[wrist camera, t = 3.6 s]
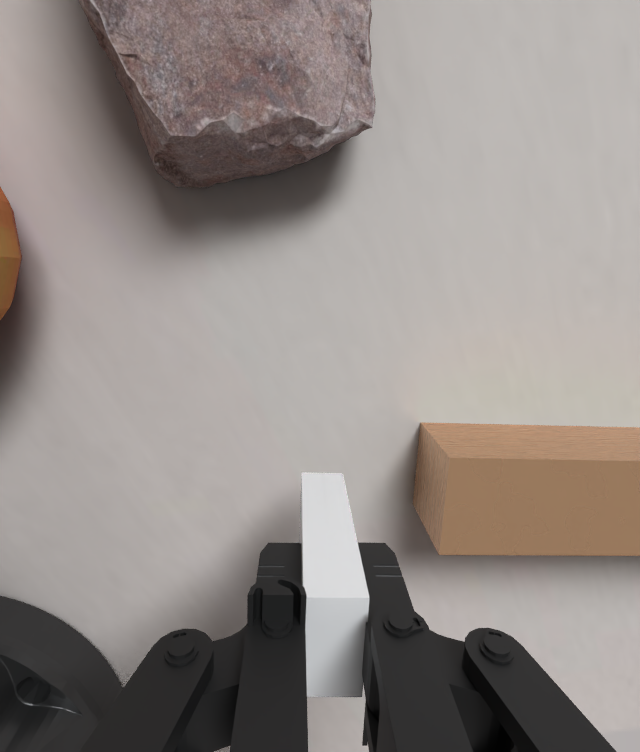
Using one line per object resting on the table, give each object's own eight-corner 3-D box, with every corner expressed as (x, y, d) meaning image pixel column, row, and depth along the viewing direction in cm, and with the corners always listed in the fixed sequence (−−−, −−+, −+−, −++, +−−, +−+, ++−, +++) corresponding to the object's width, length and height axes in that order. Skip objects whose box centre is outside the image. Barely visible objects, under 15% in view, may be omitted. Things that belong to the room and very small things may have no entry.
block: (412, 503, 22) (439, 554, 18) (420, 422, 21) (449, 457, 17) (733, 507, 23) (824, 556, 19) (753, 430, 22) (854, 464, 18)
